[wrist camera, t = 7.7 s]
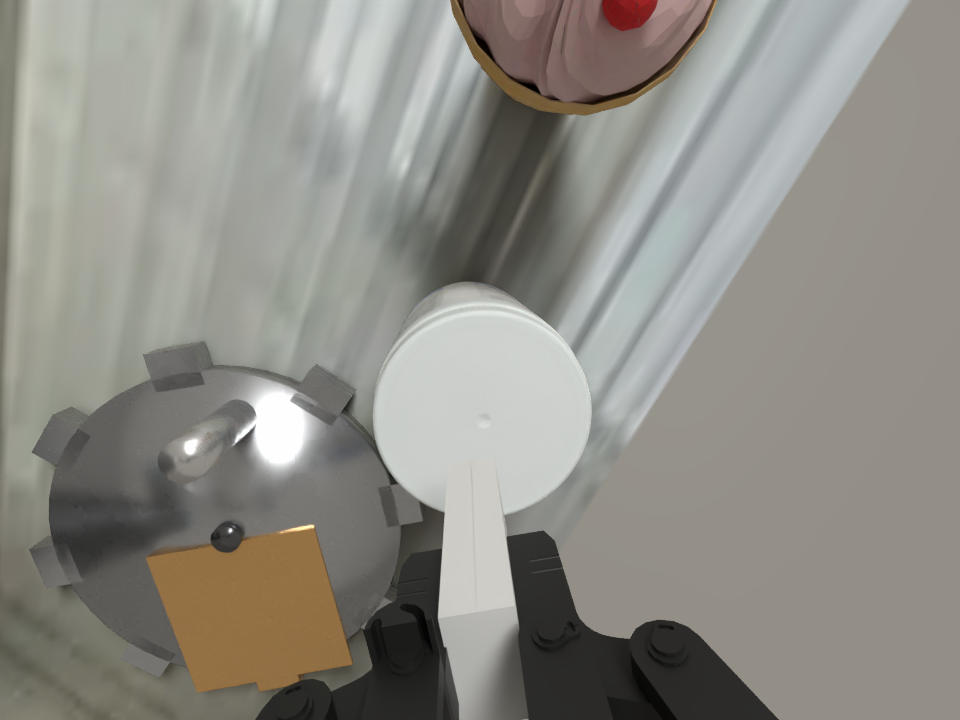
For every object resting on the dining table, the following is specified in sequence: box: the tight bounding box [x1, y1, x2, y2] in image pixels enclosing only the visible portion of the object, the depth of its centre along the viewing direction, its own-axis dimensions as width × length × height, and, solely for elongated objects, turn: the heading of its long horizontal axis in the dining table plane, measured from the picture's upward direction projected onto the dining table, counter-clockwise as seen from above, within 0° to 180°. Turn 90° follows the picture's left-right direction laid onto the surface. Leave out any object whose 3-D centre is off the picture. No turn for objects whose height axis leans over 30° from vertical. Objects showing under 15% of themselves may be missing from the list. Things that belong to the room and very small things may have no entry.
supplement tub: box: [373, 282, 592, 515], centre depth 27 cm, size 10×10×15 cm
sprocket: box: [29, 341, 424, 693], centre depth 32 cm, size 27×27×9 cm
